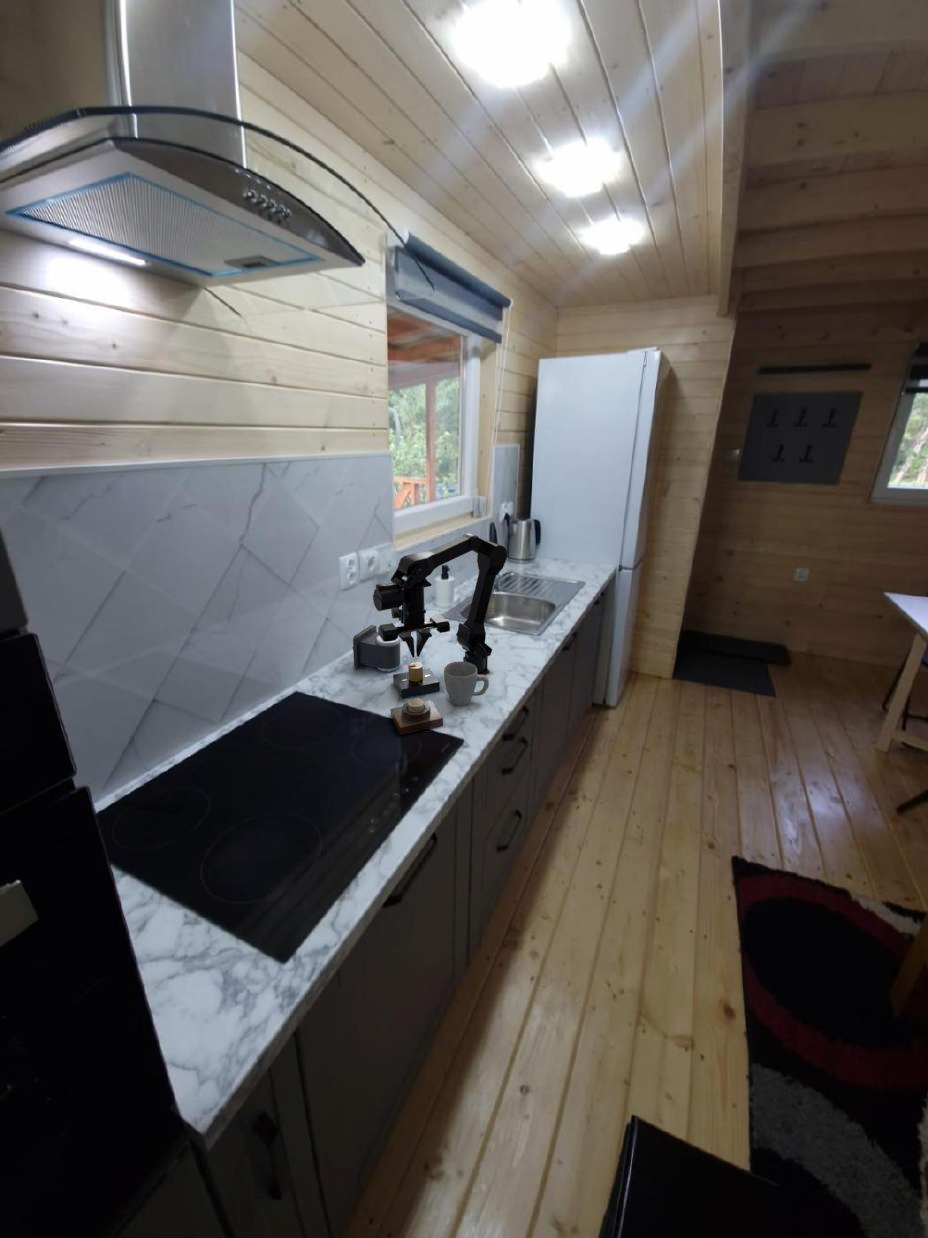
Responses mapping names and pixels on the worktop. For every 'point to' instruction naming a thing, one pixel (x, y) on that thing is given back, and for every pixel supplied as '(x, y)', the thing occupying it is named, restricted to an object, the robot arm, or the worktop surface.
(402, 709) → the switch block
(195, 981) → the worktop surface
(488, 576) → the robot arm
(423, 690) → the dimmer panel
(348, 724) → the worktop surface
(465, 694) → the mug
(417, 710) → the button
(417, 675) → the dimmer knob
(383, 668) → the light fixture
